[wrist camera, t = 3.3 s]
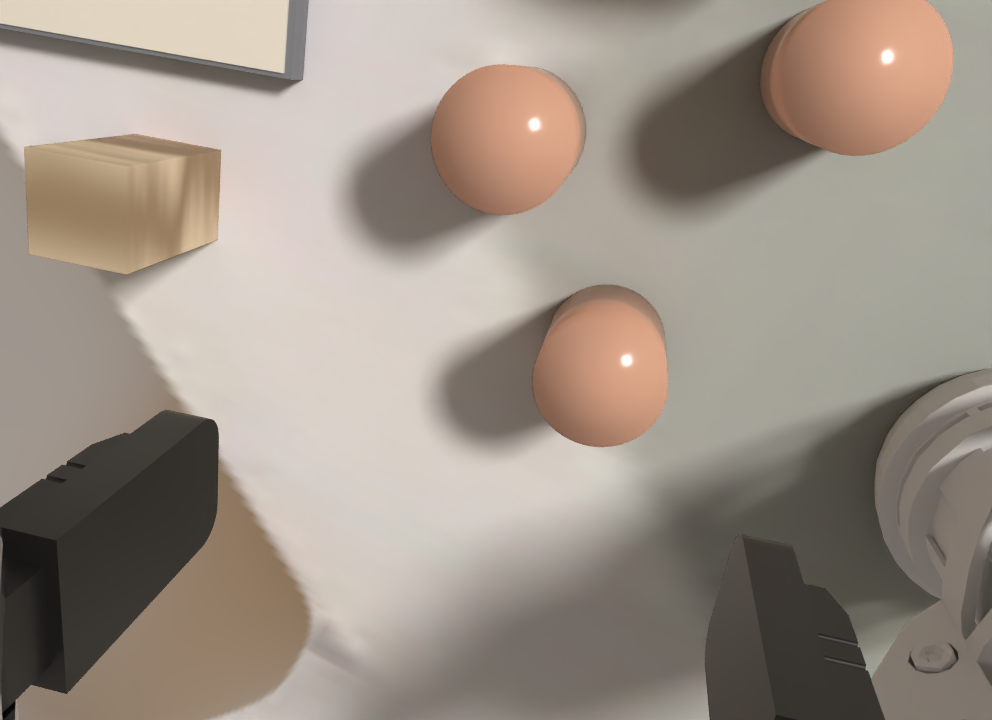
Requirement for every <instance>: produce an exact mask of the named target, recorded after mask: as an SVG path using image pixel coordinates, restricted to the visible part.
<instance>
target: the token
mask: <svg viewBox="0 0 992 720" xmlns="http://www.w3.org/2000/svg"><path fill="white" fill-rule="evenodd" d="M24 155H25V178H26V200H27V223H28V246H29V254H30V255H36V256H40V257H45V258H50V259H54V260H59V261H65V262H69V263H74V264H78V265H83V266H88V267H93V268H98V269H102V270H107V271H112V272H117V273H122V274H126V275H127V274H129V273H132V272H135V271H137V270H140V269H142V268H145V267H148V266H150V265H153V264H156V263H158V262H161V261H163V260H166V259H169V258H171V257H174V256H176V255H179V254H182V253H184V252H187V251H189V250H192V249H195V248H197V247H200V246H203V245H205V244H208V243H210V242H213V241H216V240H218V218H219V192H220V166H221V150H218V149H213V148H208V147H202V146H197V145H192V144H186V143H181V142H176V141H171V140H165V139H160V138H155V137H149V136H144V135H139V134H132V135H123V136H114V137H106V138H97V139H88V140H80V141H71V142H62V143H53V144H45V145H36V146H27V147H24Z"/></svg>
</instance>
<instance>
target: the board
mask: <svg viewBox="0 0 992 720" xmlns="http://www.w3.org/2000/svg"><path fill="white" fill-rule="evenodd" d="M307 13H308V0H0V28H2V29H8V30H13V31H19V32H24V33H30V34H36V35H41V36H47V37H53V38H58V39H64V40H70V41H75V42H81V43H86V44H92V45H98V46H103V47H109V48H115V49H120V50H126V51H132V52H137V53H143V54H148V55H154V56H160V57H165V58H171V59H177V60H182V61H188V62H194V63H199V64H205V65H211V66H216V67H222V68H227V69H233V70H239V71H244V72H250V73H256V74H261V75H267V76H273V77H278V78H284V79H289V80H303V70H304V56H305V42H306V28H307Z"/></svg>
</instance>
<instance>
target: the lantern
mask: <svg viewBox="0 0 992 720" xmlns="http://www.w3.org/2000/svg"><path fill="white" fill-rule="evenodd" d="M875 507H876V511H877V515H878V518H879V523H880V527H881V530H882V534H883V538H884V541H885V543H886V545H887V547H888V549H889V551H890V552H891V554H892V556H893V558H894V560H895V562H896V563H897V564H898V565H899V567H900V568H901V569H902V570H903V571H904V572H905V573H906V575H907V576H908V577H909V578H910V579H911V580H912V581H913V582H915V583H916V584H917V585H918V586H920V587H921V588H922V589H924V590H925V591H926V592H928V593H929V594H930V595H933V596H935V597H937V598H939V599H941V600H940V601H938V602H937V603H935V604H933V605H932V606H930V607H928V608H927V609H925V610H923V611H922V612H920V613H919V614H917V615H915V616H914V617H912V618H910V619H909V620H908V621H907V623H906V624H905V626H904V627H903V629H902V630H901V632H900V634H899V635H898V637H897V638H896V640H895V642H894V643H893V645H892V646H891V648H890V649H889V651H888V653H887V654H886V656H885V657H884V659H883V660H882V662H881V664H880V665H879V667H878V668H877V670H876V672H875V673H874V675H873V676H872V679H871V681H872V684H873V686H874V689H875V692H876V695H877V698H878V701H879V703H880V706H881V709H882V712H883V715H884V718H885V720H992V369H985V370H981V371H977V372H973V373H969V374H965V375H961V376H959V377H957V378H954V379H952V380H950V381H948V382H945V383H943V384H941V385H938V386H937V387H935V388H934V389H932V390H931V391H929V392H928V393H926V394H925V395H923V396H922V397H920V398H919V399H917V400H916V401H915V402H914V403H913V404H912V405H911V406H910V407H909V408H908V409H907V410H906V411H905V412H904V413H903V414H901V416H900V417H899V418H898V420H897V421H896V423H895V424H894V425H893V427H892V428H891V429H890V431H889V432H888V434H887V437H886V439H885V441H884V444H883V446H882V449H881V451H880V453H879V456H878V458H877V462H876V474H875Z"/></svg>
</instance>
